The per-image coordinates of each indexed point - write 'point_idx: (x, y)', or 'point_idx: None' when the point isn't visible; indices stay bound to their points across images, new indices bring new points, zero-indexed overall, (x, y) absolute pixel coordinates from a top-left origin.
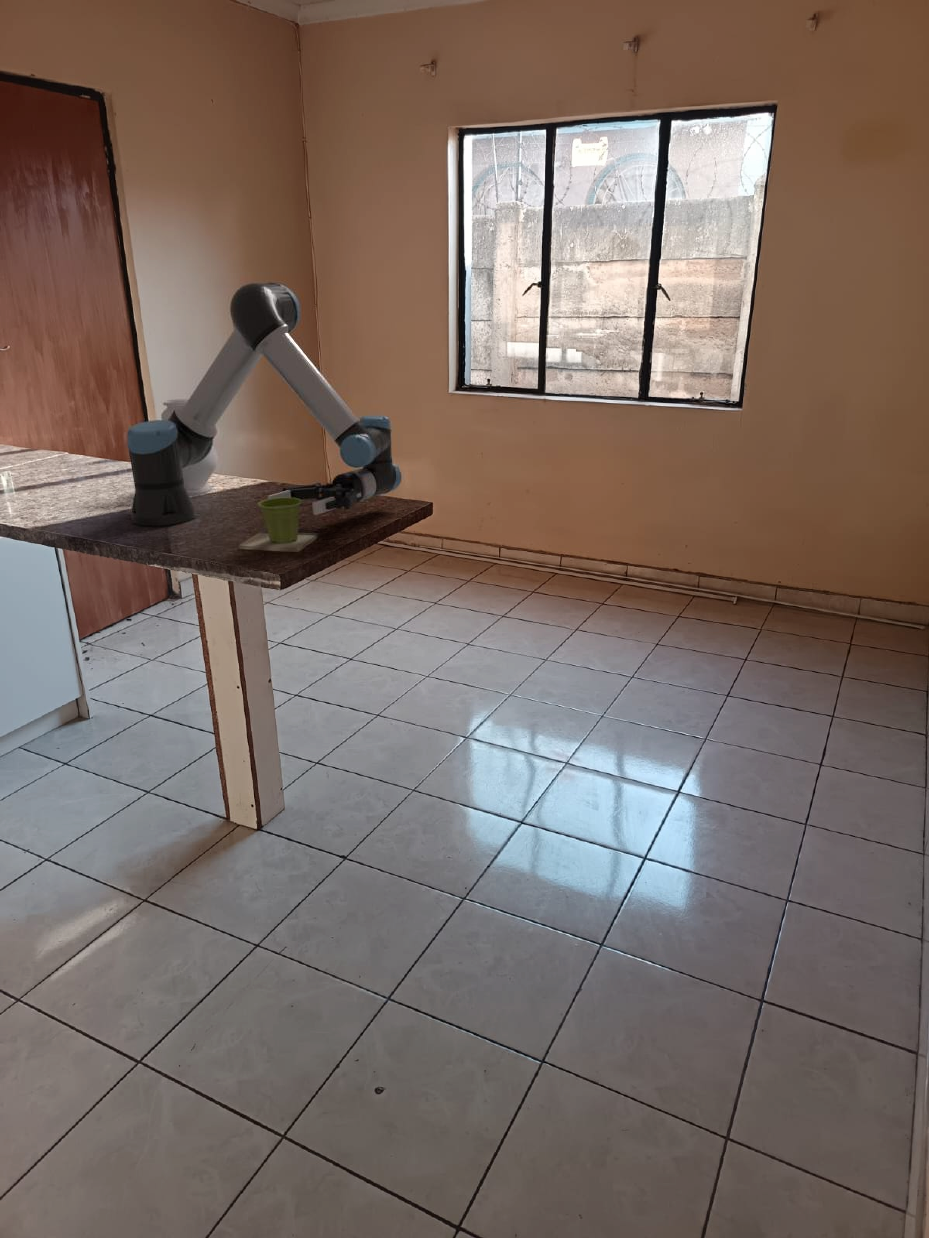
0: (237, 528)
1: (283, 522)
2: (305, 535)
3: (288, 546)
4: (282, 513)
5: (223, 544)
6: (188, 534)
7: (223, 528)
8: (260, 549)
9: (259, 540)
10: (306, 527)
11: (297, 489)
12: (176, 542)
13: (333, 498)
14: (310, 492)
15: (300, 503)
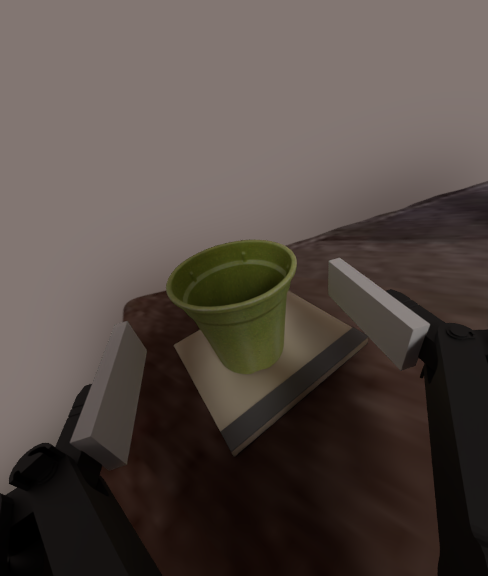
0: (472, 318)
1: (204, 300)
2: (246, 405)
3: (200, 337)
4: (192, 279)
5: (325, 280)
6: (435, 255)
7: (481, 298)
8: None
9: None
10: (413, 511)
11: (459, 377)
12: (378, 244)
13: (77, 434)
14: (453, 486)
15: (173, 302)
